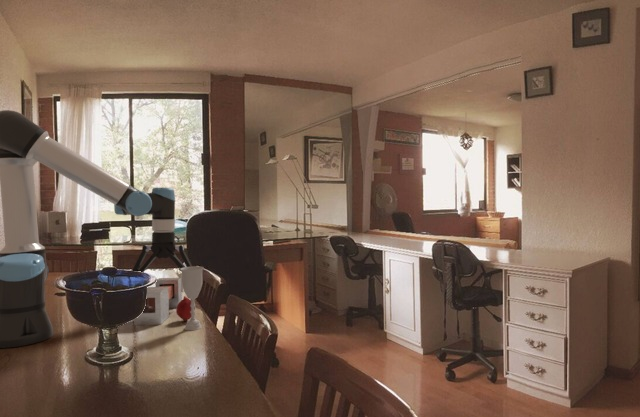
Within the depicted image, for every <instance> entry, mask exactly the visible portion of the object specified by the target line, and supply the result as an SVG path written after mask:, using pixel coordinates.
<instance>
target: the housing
mask: <svg viewBox="0 0 640 417" xmlns="http://www.w3.org/2000/svg"><path fill="white" fill-rule="evenodd" d="M147 287H148V288H147V299H146V306H145V309H144V311H143V313H142V314H141V315H140V316H139V317H138V318H136V319H135V320H134V319H133V320H134V326H151V325H152V326H153V325H154V326H155V325H162V324H163V323H164V322H165V321H166V320H167V319H168V318H170V313H169V312H170V308H169V293H168V287H156V286H147ZM148 298H155V306H148Z"/></svg>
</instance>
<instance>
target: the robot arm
mask: <svg viewBox="0 0 640 417" xmlns="http://www.w3.org/2000/svg"><path fill="white" fill-rule="evenodd" d="M37 163H40V164H42V165H44V166H45V167H47V168H49V169H51V170H53V171H54V172H56V173H57V174H60V175H62V176H63V177H65V178H66V179H69V180H71V181H72V182H74V183H76V184H78V185H79V186H80V187H81V186H82V187H83V188H84V189H87V190H88V191H90V192H92V193H94V194H95V195H97V196H99V197H101V198H103V199H104V200H106V201H108V202H109V203H111V204H113V208H114V213H115V215H118V216H121V215H122V216H134V217H141V216H144V215H146V216H147V215H151V216H152V217H151V219H152V220H151V230H152V231H153V232H152V233H151V245H148V244H144V245H142V247H141V248H142V249H141V253H140V255H139V257H138V258H137V261H136V262H135V263H134V266H133V268H132V271H141V272H143V273H145V271H146V270H147V268H148V267H149V266H150V265H151V264H152V263H153V262H154V260H155V259H156V258H158V259H162V258H163V259H169V258H170V260H172V261H173V263H175V265H176V266H177V267H178V268H179V270H180V269H181V268H184V267H193V265H192V263H191V261H190V259H189V257H188V254H187V253H186V250H185V246H184V244H181V245H176V244H175V243H176V242H175V241H176V240H175V239H176V237H175V232H174V231H175V230H176V228H175V227H176V225H175V224H176V222H175V221H176V220H175V218H176V217H175V215H176V211H175V210H176V206H175V205H176V195H175V190H174V188H172V187H153V188H152V191H151V192H145V191H141V190H139V189H138V188H136V187H134V186H132V185H131V184H130V183H127V182H126V181H124V180H123V179H121V178H119V177H118V176H116V175H114V174H113V173H111V172H109V171H107V170H105V169H104V168H102V167H101V166H99V165H98V164H96V163H94V162H92V161H90V160H89V159H88V158H85V157H84V156H82V155H80V154H79V153H78V152H76V151H74V150H72V149H70V148H68V147H67V146H65V145H64V144H62V143H60V142H59V141H57V140H55V139H54V138H52V137H50V135H49V131H47V130H45V129H44V128H42V127H41V126H39V125H37V124H36V123H35V122H33V121H32V120H31V119H29V118H28V117H27V116H25V114H23V113H20V112H19V111H15V110H8V109H7V110H0V197H1V209H2V210H1V211H2V221H3V234H4V247H3V248H1V249H0V349H7V348H18V347H23V346H24V347H25V346H29V345H33V344H37V343H41V342H44V341H45V340H48V339H50V338H52V337H53V336H54V327H53V325H52V322H51V320H50V317H49V314H48V312H47V310H46V288H45V285H46V284H45V282H46V281H47V278H48V276H49V266H48V265H47V264H48V263H47V254H46V246H45V245H43V244H41V243H40V238H39V228H38V227H39V225H38V214H37V213H38V211H37V200H36V199H37V198H36V186H35V173H34V172H35V171H34V166H35V165H36V164H37ZM176 250H177V252H178V253H179V255H180V256H181V258H182V260H183V262H184V263H183V262H182V261H181V260H180V259H179V258H178V256H177V255H176V253H175V251H176ZM150 251H152V254H151V255H150V256H149V258H148V259H147V260H146V261H145V263H144V264H143V265H142V263H143V261H144V260H145V258H146V256H147V254H148V252H150ZM141 265H142V266H141ZM180 278H181V292H182V293H185V292H184V289H183V286H182V272H181V273H180Z"/></svg>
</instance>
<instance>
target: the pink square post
mask: <svg viewBox="0 0 640 417" xmlns="http://www.w3.org/2000/svg"><path fill="white" fill-rule="evenodd" d="M160 287H168V293H169V299H171V298H172V297H173V296H174V284H163V285H162V286H160ZM148 306H155V298H148Z"/></svg>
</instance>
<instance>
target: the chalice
mask: <svg viewBox="0 0 640 417" xmlns="http://www.w3.org/2000/svg"><path fill="white" fill-rule="evenodd" d="M204 268H205V267H204V266H201V265H200V266H197V265H196V266H195V265H192V267H186V266H185V267H184V268H181V269H180V268H179V270H180V272H181V273H182V286H183V289H184V292H183V293H185V296H186V297H187V298H188V299H190V300H191V305H190V306H191V311H190V313H191V315H192V316H191V318H190V319H189V320H187V321H186V324H185V326H184V330H185V331H198V330H200V329H202V328H203V326H202V325H201V323H200V320H199V319H197V317H196V316H195V315H196V304H195V299H197V298H198V297H199V294H200V292H201V290H202V287H203V271H204ZM194 308H195V309H194Z"/></svg>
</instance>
